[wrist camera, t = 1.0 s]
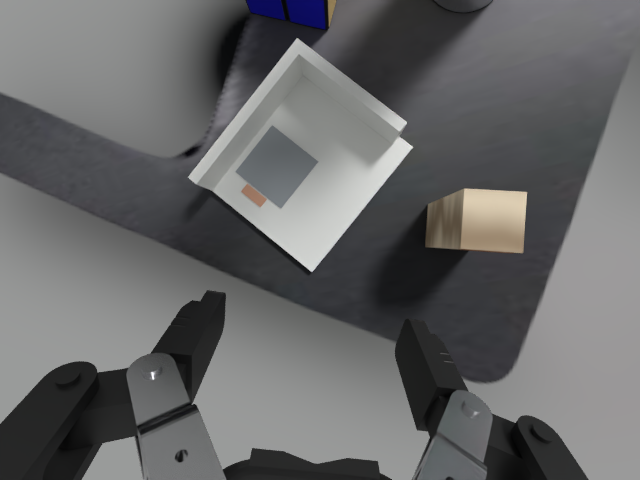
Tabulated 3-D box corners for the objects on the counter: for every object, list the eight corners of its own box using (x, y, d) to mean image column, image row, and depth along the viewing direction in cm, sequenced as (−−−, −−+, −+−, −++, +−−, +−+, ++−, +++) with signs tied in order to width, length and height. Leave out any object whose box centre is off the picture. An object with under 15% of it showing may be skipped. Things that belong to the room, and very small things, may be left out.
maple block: (427, 204, 35) (464, 188, 25) (472, 206, 35) (526, 192, 25) (425, 247, 35) (460, 249, 25) (469, 250, 34) (522, 254, 24)
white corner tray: (302, 64, 36) (297, 38, 31) (411, 148, 35) (422, 134, 30) (206, 185, 36) (187, 177, 32) (312, 271, 35) (308, 276, 31)
